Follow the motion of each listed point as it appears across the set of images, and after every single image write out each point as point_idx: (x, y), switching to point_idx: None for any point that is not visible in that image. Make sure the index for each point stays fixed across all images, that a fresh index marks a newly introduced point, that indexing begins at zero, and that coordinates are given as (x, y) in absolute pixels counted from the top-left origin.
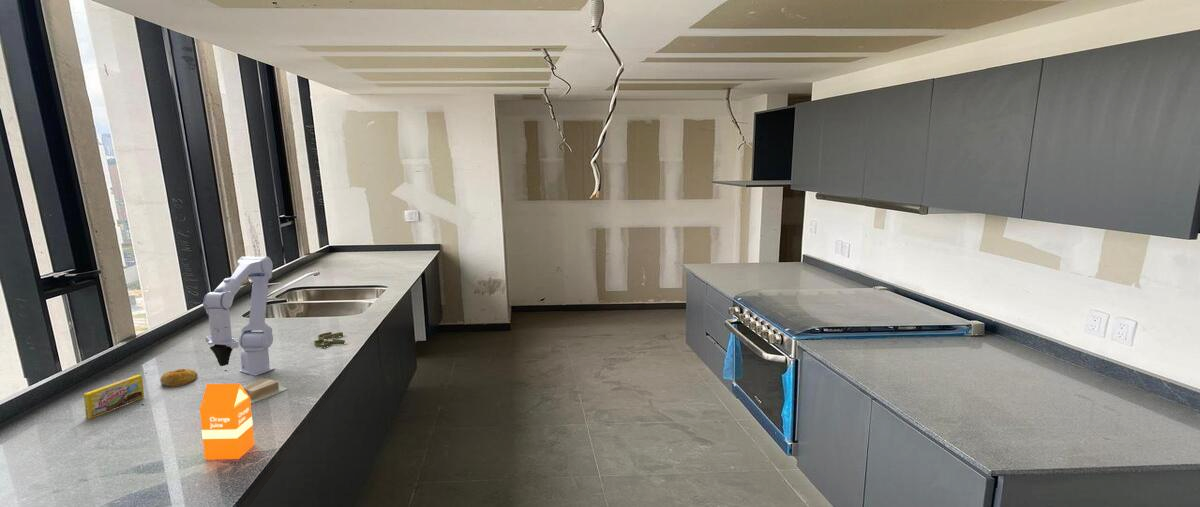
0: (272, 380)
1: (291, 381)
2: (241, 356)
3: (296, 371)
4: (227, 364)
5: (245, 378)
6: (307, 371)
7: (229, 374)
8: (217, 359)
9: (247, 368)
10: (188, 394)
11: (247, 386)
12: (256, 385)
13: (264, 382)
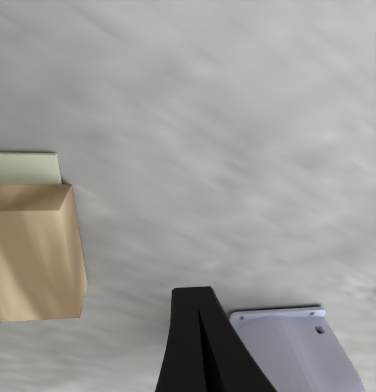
0: (15, 320)
1: (58, 340)
2: (351, 373)
3: (137, 376)
4: (170, 321)
5: (249, 287)
6: (103, 389)
7: (341, 281)
8: (233, 341)
9: (290, 329)
10: (350, 85)
11: (34, 236)
12: (8, 262)
13: (20, 295)
